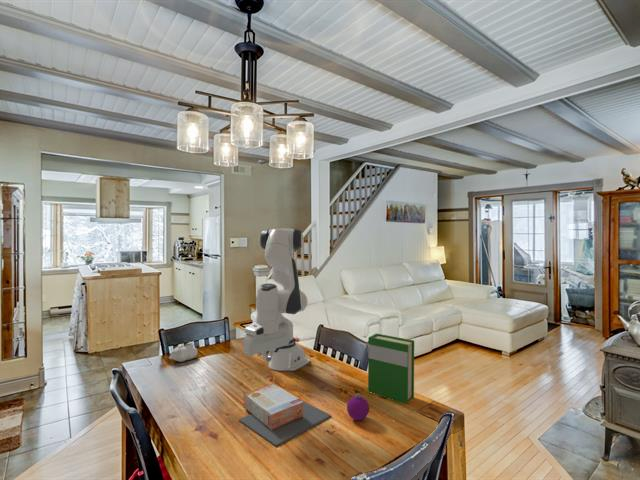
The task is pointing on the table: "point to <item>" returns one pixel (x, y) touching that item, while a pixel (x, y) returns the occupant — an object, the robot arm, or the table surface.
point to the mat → (286, 425)
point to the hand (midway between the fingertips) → (267, 361)
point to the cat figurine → (183, 352)
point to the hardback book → (391, 367)
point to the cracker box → (273, 406)
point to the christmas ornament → (358, 407)
